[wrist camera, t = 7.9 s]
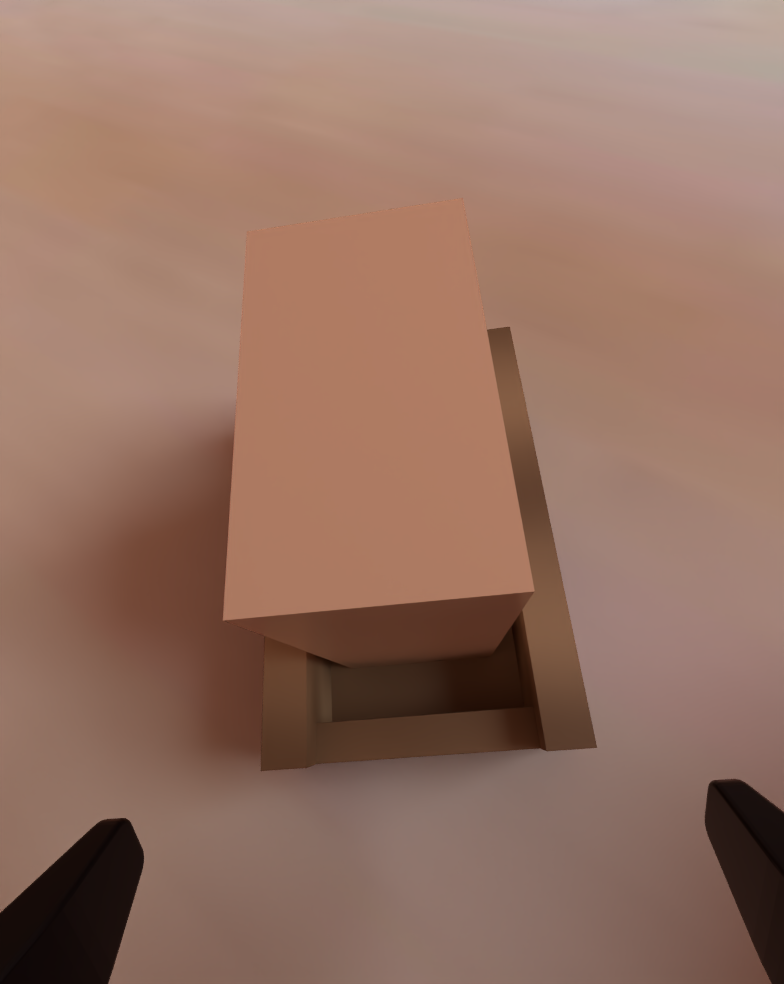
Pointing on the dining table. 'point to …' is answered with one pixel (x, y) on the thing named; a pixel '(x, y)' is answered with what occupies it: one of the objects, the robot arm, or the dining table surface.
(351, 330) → the terracotta block
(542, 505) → the walnut rack
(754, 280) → the dining table surface
